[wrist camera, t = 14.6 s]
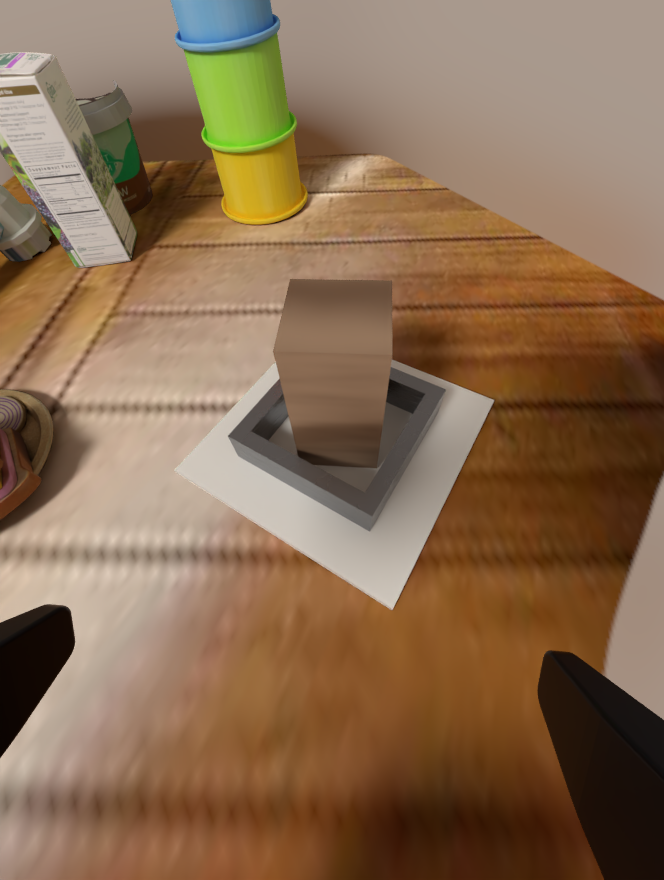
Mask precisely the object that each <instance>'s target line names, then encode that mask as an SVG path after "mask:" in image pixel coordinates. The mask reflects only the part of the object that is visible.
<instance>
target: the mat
mask: <svg viewBox="0 0 664 880" xmlns="http://www.w3.org/2000/svg"><path fill="white" fill-rule="evenodd" d="M391 367H392V368H395V369H397V370H400V371H402V372H405V373H407V374H410V375H412V376H414V377H417V378H419V379H422V380H424V381H427V382H429V383H432V384H434V385H437V386H439V387H442V388H444V389H446V392H445V394H444V397H443V400H442V403H441V406H440V409H439V412H438V414H437V416H436V417H435V419H434V421H433V423H432V424H431V426H430V428H429V430H428V431H427V433H426V435H425V437H424V438H423V440H422V442H421V443H420V445H419V447H418V449H417V450H416V452H415V454H414V456H413V457H412V459H411V461H410V463H409V464H408V466H407V468H406V470H405V471H404V473H403V475H402V477H401V478H400V480H399V482H398V484H397V485H396V487H395V489H394V491H393V492H392V494H391V496H390V498H389V499H388V501H387V503H386V505H385V506H384V508H383V510H382V512H381V513H380V515H379V517H378V519H377V520H376V522H375V524H374V526H373V527H372V529H371V531H370V532H369V531H368V530H366V529H364V528H362V527H361V526H359V525H357V524H355V523H354V522H352V521H350V520H348V519H347V518H345V517H343V516H341V515H340V514H338V513H336V512H334V511H333V510H331V509H329V508H327V507H326V506H324V505H322V504H321V503H319V502H317V501H315V500H314V499H312V498H310V497H308V496H307V495H305V494H303V493H301V492H300V491H298V490H296V489H294V488H293V487H291V486H289V485H287V484H286V483H284V482H282V481H280V480H279V479H277V478H275V477H273V476H272V475H270V474H268V473H266V472H265V471H263V470H261V469H260V468H258V467H256V466H254V465H253V464H251V463H249V462H247V461H246V460H244V459H242V458H240V457H239V456H238V455H237V453H236V451H235V449H234V447H233V445H232V443H231V441H230V440H229V438H228V435H229V434H230V433H231V432H232V431H233V430H234V428H235V427H236V426H237V425H238V424H239V423H240V422H241V421H242V420H243V418H244V417H245V416H246V415H247V414H248V413H249V412H250V411H251V410H252V408H253V407H254V406H255V405H256V404H257V403H258V402H259V401H260V399H261V398H262V397H263V396H264V395H265V394H266V393H267V392H268V391H269V389H270V388H271V387H272V386H273V385H274V384H275V383H276V382H277V381H278V379H279V374H278V369H277V365H276V362H275V363H274V364H273V365H272V366H271V367H270V368H269V369H268V370H267V371H266V372H265V374H264V375H263V376H262V377H261V378H260V379H259V380H258V381H257V382H256V383H255V384H254V385H253V386H252V387H251V389H250V390H249V391H248V392H247V393H246V394H245V395H244V396H243V397H242V398H241V399H240V400H239V401H238V402H237V404H236V405H235V406H234V407H233V408H232V409H231V410H230V411H229V412H228V413H227V414H226V415H225V416H224V417H223V419H222V420H221V421H220V422H219V423H218V424H217V425H216V426H215V427H214V428H213V429H212V430H211V431H210V432H209V433H208V435H207V436H206V437H205V438H204V439H203V440H202V441H201V442H200V443H199V444H198V445H197V446H196V447H195V448H194V450H193V451H192V452H191V453H190V454H189V455H188V456H187V457H186V458H185V459H184V460H183V461H182V462H181V463H180V465H179V466H178V467H177V468H176V469H175V470H174V471H175V472H176V473H177V474H178V475H180V476H181V477H183V478H185V479H186V480H188V481H189V482H191V483H192V484H194V485H196V486H197V487H199V488H200V489H202V490H203V491H205V492H207V493H208V494H210V495H211V496H213V497H214V498H216V499H218V500H219V501H221V502H222V503H224V504H225V505H227V506H229V507H230V508H232V509H233V510H235V511H236V512H238V513H240V514H241V515H243V516H244V517H246V518H247V519H249V520H251V521H252V522H254V523H255V524H257V525H258V526H260V527H262V528H263V529H265V530H266V531H268V532H269V533H271V534H273V535H274V536H276V537H277V538H279V539H280V540H282V541H284V542H285V543H287V544H288V545H290V546H291V547H293V548H295V549H296V550H298V551H299V552H301V553H303V554H304V555H306V556H307V557H309V558H310V559H312V560H314V561H315V562H317V563H318V564H320V565H321V566H323V567H325V568H326V569H328V570H329V571H331V572H332V573H334V574H336V575H337V576H339V577H340V578H342V579H343V580H345V581H347V582H348V583H350V584H351V585H353V586H354V587H356V588H358V589H359V590H361V591H362V592H364V593H365V594H367V595H369V596H370V597H372V598H373V599H375V600H376V601H378V602H380V603H381V604H383V605H384V606H386V607H387V608H389V609H391V610H393V608H394V606H395V604H396V602H397V600H398V598H399V596H400V594H401V591H402V589H403V587H404V585H405V583H406V581H407V579H408V577H409V575H410V573H411V571H412V569H413V567H414V565H415V563H416V561H417V559H418V556H419V554H420V552H421V550H422V548H423V546H424V544H425V542H426V540H427V538H428V536H429V534H430V532H431V530H432V528H433V526H434V524H435V521H436V519H437V517H438V515H439V513H440V511H441V509H442V507H443V505H444V503H445V501H446V499H447V497H448V495H449V493H450V491H451V489H452V487H453V484H454V482H455V480H456V478H457V476H458V474H459V472H460V470H461V468H462V466H463V464H464V462H465V460H466V458H467V456H468V454H469V452H470V449H471V447H472V445H473V443H474V441H475V439H476V437H477V435H478V433H479V431H480V429H481V427H482V425H483V423H484V421H485V419H486V417H487V415H488V412H489V410H490V408H491V406H492V404H493V402H494V400H493V399H490V398H488V397H485V396H483V395H480V394H478V393H475V392H473V391H470V390H468V389H465V388H463V387H460V386H458V385H455V384H452V383H450V382H447V381H445V380H442V379H440V378H437V377H435V376H432V375H430V374H427V373H425V372H422V371H420V370H417V369H415V368H412V367H410V366H407V365H405V364H402V363H400V362H397V361H395V360H392V362H391ZM412 415H413V414H412V413H410V412H407V411H405V410H403V409H401V408H398V407H396V406H394V405H391V404H389V403H387V402H386V405H385V413H384V420H383V427H382V434H381V442H380V449H379V456H378V463H377V468H360V467H342V466H324V465H314V466H316V467H318V468H320V469H322V470H324V471H326V472H327V473H329V474H331V475H333V476H335V477H337V478H339V479H340V480H342V481H344V482H346V483H348V484H350V485H352V486H353V487H355V488H357V489H359V490H361V491H363V492H365V491H366V490H367V488H368V487H369V485H370V483H371V482H372V480H373V478H374V477H375V475H376V474H377V472H378V470H379V469H380V467H381V465H382V464H383V462H384V461H385V459H386V457H387V456H388V454H389V452H390V451H391V449H392V448H393V446H394V444H395V443H396V441H397V439H398V438H399V436H400V434H401V433H402V431H403V430H404V428H405V426H406V425H407V423H408V421H409V420H410V418H411V417H412ZM268 441H270V442H272V443H274V444H275V445H277V446H279V447H281V448H283V449H285V450H287V451H288V452H290V453H292V454H294V455H296V456H298V453H297V449H296V445H295V441H294V436H293V432H292V428H291V424H290V420H289V416H288V417H287V419H286V420H285V421H284V422H283V423H282V425H281V426H280V427H279V428H278V429H277V431H276V432H275V433H274V434H273V436H272V437H271V438H270V439H269V440H268Z"/></svg>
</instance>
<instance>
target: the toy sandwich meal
mask: <svg viewBox="0 0 664 880" xmlns="http://www.w3.org/2000/svg"><path fill="white" fill-rule="evenodd" d="M52 440H53V422H52V418H51V415H50V413H49V411H48V409H47V408H46V406H45V405H44V404H43V403H42V402H41V401H40V400H38V399H37V398H35V397H34V396H32V395H29V394H27V393H24V392H20V391H15V390H0V520H1V519H2V518H3V517H5V516H6V515H7V514H9V513H10V512H11V511H13V510H14V509H15V508H16V507H17V506H19V505H20V504H21V503H22V502H23V501H25V500H26V499H27V498H28V497H29V496H30V495H31V494H32V493H33V492H34V491H35V490H36V488H37V487H38V486H39V485H40V483H41V478H40V477H39V476H38V475H39V473H40V471H41V470H42V468H43V466H44V464H45V462H46V459H47V457H48V454H49V451H50V448H51V445H52Z"/></svg>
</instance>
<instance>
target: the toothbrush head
mask: <svg viewBox="0 0 664 880" xmlns="http://www.w3.org/2000/svg"><path fill="white" fill-rule="evenodd" d="M41 217H42V216H41V215H40V214H39V212H38V211H37V210H36V209H35V208H34V207H33V206H32V205H31V204H20V203H19V202H18V201H17V200H16V199H15V198H14V197H13V196H12V195H11V194H10V193H9V191H8V190H7V189H6V188H4V187H3V186H1V185H0V251H1V252H2V253H3V254H4V255H5V256H6V257H7V258H8V259H9V260H10V261H18V262H20V261H24V260H29V259H32V256H33V255H35V254H36V253H38V252H39V251H40V252H45V251H46V249H47V248H48V247H49V245H50V244H51V242H50V241H49V237H50V236H52V234H51V233H50V232H49V230H48V229H47V228H46V227H45V226H44V224H43V223H42V222H41Z"/></svg>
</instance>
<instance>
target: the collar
mask: <svg viewBox="0 0 664 880" xmlns="http://www.w3.org/2000/svg"><path fill="white" fill-rule="evenodd" d="M445 392H446V389H444V388H442V387H439V386H437V385H434V384H432V383H429V382H427V381H424V380H422V379H419V378H417V377H414V376H412V375H410V374H407V373H405V372H402V371H400V370H397V369H395V368H392V367H391V369H390V376H389V384H388V391H387V398H386V402H387V403H389V404H391V405H394V406H396V407H398V408H401V409H403V410H405V411H407V412H410V413H412V414H413V415H412V417H411V418H410V420H409V421H408V423H407V425H406V426H405V428H404V430H403V431H402V433H401V434H400V436H399V438H398V439H397V441H396V443H395V444H394V446H393V448H392V449H391V451H390V452H389V454H388V456H387V457H386V459H385V461H384V462H383V464H382V465H381V467H380V469H379V470H378V472H377V474H376V475H375V477H374V478H373V480H372V482H371V483H370V485H369V487H368V488H367V490H366V491H365V492H363V491H361V490H359V489H357V488H355V487H353V486H352V485H350V484H348V483H346V482H344V481H342V480H340V479H339V478H337V477H335V476H333V475H331V474H329V473H327V472H326V471H324V470H322V469H320V468H318V467H316V466H314V465H313V464H311V463H309V462H307V461H305V460H303V459H301V458H300V457H298V456H296V455H294V454H292V453H290V452H288V451H287V450H285V449H283V448H281V447H279V446H277V445H275V444H274V443H272V442H270V441H268V440H269V439H270V438H271V437H272V436H273V434H274V433H275V432H276V431H277V429H278V428H279V427H280V426H281V425H282V423H283V422H284V421H285V420H286V419H287V417H288V416H289V415H288V411H287V407H286V403H285V399H284V395H283V390H282V386H281V382H280V378H279V379H278V381H277V382H276V383H275V384H274V385H273V386H272V387H271V388H270V389H269V391H268V392H267V393H266V394H265V395H264V396H263V397H262V398H261V399H260V401H259V402H258V403H257V404H256V405H255V406H254V407H253V408H252V410H251V411H250V412H249V413H248V414H247V415H246V416H245V417H244V418H243V420H242V421H241V422H240V423H239V424H238V425H237V426H236V427H235V428H234V430H233V431H232V432H231V433H230V434H229V435H228V438H229V440H230V441H231V443H232V445H233V447H234V449H235V451H236V453H237V455H238V456H239V457H240V458H242V459H244V460H246V461H247V462H249V463H251V464H253V465H254V466H256V467H258V468H260V469H261V470H263V471H265V472H266V473H268V474H270V475H272V476H273V477H275V478H277V479H279V480H280V481H282V482H284V483H286V484H287V485H289V486H291V487H293V488H294V489H296V490H298V491H300V492H301V493H303V494H305V495H307V496H308V497H310V498H312V499H314V500H315V501H317V502H319V503H321V504H322V505H324V506H326V507H327V508H329V509H331V510H333V511H334V512H336V513H338V514H340V515H341V516H343V517H345V518H347V519H348V520H350V521H352V522H354V523H355V524H357V525H359V526H361V527H362V528H364V529H366V530H368V531H369V532H370V531H371V529H372V527H373V526H374V524H375V522H376V520H377V519H378V517H379V515H380V513H381V512H382V510H383V508H384V506H385V505H386V503H387V501H388V499H389V498H390V496H391V494H392V492H393V491H394V489H395V487H396V485H397V484H398V482H399V480H400V478H401V477H402V475H403V473H404V471H405V470H406V468H407V466H408V464H409V463H410V461H411V459H412V457H413V456H414V454H415V452H416V450H417V449H418V447H419V445H420V443H421V442H422V440H423V438H424V437H425V435H426V433H427V431H428V430H429V428H430V426H431V424H432V423H433V421H434V419H435V417H436V416H437V414H438V412H439V409H440V406H441V403H442V400H443V397H444V394H445Z"/></svg>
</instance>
